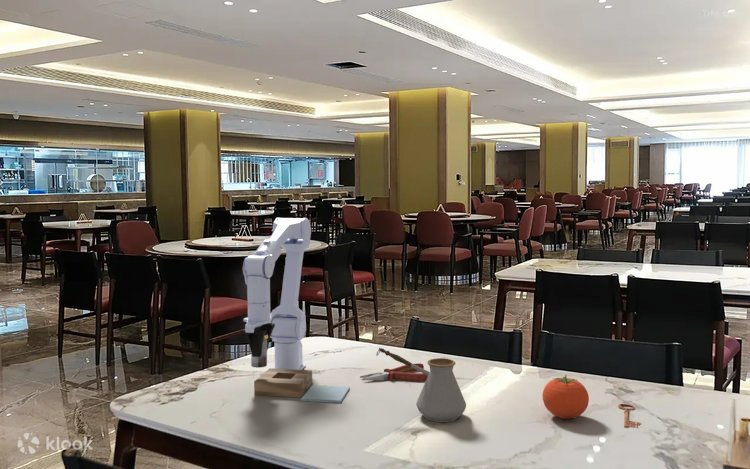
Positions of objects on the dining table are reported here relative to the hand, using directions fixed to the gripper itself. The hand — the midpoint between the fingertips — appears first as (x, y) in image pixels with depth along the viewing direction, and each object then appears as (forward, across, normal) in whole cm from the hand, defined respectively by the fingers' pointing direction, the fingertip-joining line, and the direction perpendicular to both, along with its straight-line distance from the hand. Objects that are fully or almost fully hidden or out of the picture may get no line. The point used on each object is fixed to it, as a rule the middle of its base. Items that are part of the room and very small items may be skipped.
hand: (259, 354), depth 170 cm
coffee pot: (+10, +10, +43) cm, 45 cm away
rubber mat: (+10, 0, +18) cm, 20 cm away
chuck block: (+10, -3, +6) cm, 12 cm away
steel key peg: (+3, 0, 0) cm, 3 cm away
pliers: (+11, -20, +33) cm, 40 cm away
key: (+10, +3, +90) cm, 91 cm away
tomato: (+10, +6, +76) cm, 77 cm away
